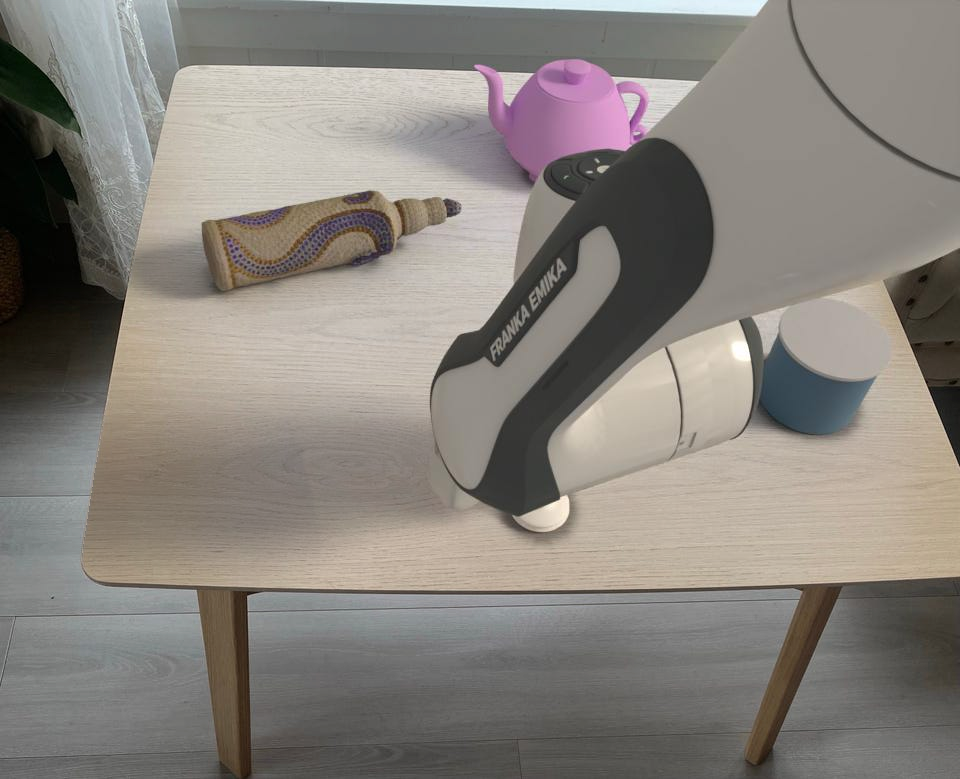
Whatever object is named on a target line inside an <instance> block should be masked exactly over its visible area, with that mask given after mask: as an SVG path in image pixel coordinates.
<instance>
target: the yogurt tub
mask: <svg viewBox="0 0 960 779" xmlns="http://www.w3.org/2000/svg"><path fill="white" fill-rule="evenodd" d="M891 341H892V340H891V339H890V336H889V334H888V333H887V331H886V330H885V328H884V327H883V325H882V324H881V323H880V322H879V321H877V319H875V317H874V316H871V314H869V313H868V312H866V311H865V310H863V309H861V308H859V307H857V306H856V305H853V304H851V303H848V302H845V301H842V300H838V299H834V298H828V297H827V298H826V297H821V298H817V299H814V300H810V301H806V302H802V303H798V304H795V305H791V306H788V307H786V309H785V311H784V312H783V313H782V315H781V317H780V319H779V323H778V333H777V335H776V337H775V340H774V342H773V344H772V346H771V348H770V351H769V352H768V355H767V358H766V360H765V362H764V363H763V379H762V388H761V393H760V398H759V402H760V404H761V405H762V407H763V408H764V409H765V411H766V412H767V413H768V414H769V415H770V416H771V417H772V418H773V419H775V421H777V422H778V423H780V424H782V425H784V426H785V427H787V428H789V429H791V430H793V431H795V432H799V433H803V434H809V435H814V436H815V435H816V436H817V435H818V436H820V435H821V436H822V435H829V434H834V433H837V432H839V431H841V430H843V429H844V428H846V427H848V425H850V423H851V421H852V420H853V418H854V417H855V415H856V413H857V411H859V409H860V406H861V405H862V403H863V401H864V399H865V398H866V396H867V394H868V393H869V391H870V389H871V388H872V386H873V384H874V383H875V381H876V379H877V377H878V376H879V375H880V374H882V373H883V372H884V371H885V370H886V369H887V367H888V366H889V364H890V362H891V360H892V356H893V346H892V342H891Z"/></svg>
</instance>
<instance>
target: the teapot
mask: <svg viewBox="0 0 960 779" xmlns="http://www.w3.org/2000/svg"><path fill="white" fill-rule="evenodd" d="M473 67H474V69H476V71H478V72H479V73H480V74H481V76H483V77H484V78H485V80H486V82H487V86H488V99H487V112H488V118H489V120H490V123H491V126H492V127H493V128H494V130H495V131H496V132H497V133H499V134H500V135H501V136H502V138H503V142H504V145H505V147H506V149H507V151H508V152H509V154H510V156H511V157H512V158H513V159H514V160H515V162H517V163H518V164H519V165H520V166H521V167H522V168H523V169H524V170H525V171H527V172H528V173H529V175H528V177H529V179H530V180H531V181H532V182H534V183H535V182H536V179H537V178H538V176H539V174H540V173H541V171H542V170H543V169H544V168H545V167H546V166H547V165H548V164H549V163H551V162H552V161H555V160H557V159H559V158H561V157H564V156H567V155H571V154H575V153H580V152H585V151H591V150H598V149H614V150H623V151H626V150H627V149H628V148H629V147H630V146H632V145H634V144H635V143H637V142H638V141H640V140H641V138H642V137H643V136H644V135H645V134H647V133H648V130H647V128H646V127H645V125H644V124H640V123H641V121H642V119H643V118H644V116H645V114H646V112H647V109H648V106H649V101H650V100H649V94H648V92H647V89H645V87H644V86H643V85H641V84H639V83H638V82H635V81H630V80H627V81H626V80H625V81H620V82H618V83H616V82H615V80H614V79H613V78H612V76H611V75H610V74H609V73H608V72H607V71H606V70H605V69H604V68H601V67H600V66H598V65H596V64H594V63H591V62H587V61H586V60H583V59H579V58H572V59H561V60H553V61H551V62H549V63H546V64H544V65H542V66H541V67H539V69H537V70H536V71H535V72H534V73H533V74H532V75H531V76H530V77H529V78H528V80H526V81H525V83H524V84H523V85H522V86H521V87H520V89H519V90H518V92H517V93H516V95H515V96H514V98H513V99H512V101H511V103H510V105H508V104H507V103H506V102H505V101H504V84H503V79H502V77H501V75H500V73H499V72H498V71H497V70H495V69H493V67H492V68H491V67H490V66H486V65H483V64H474V65H473ZM622 94H635V95H637V96H639V102H638V105H637V107H636V109H635V111H634V113H633V115H632V116H631V118H630V117H629V113H628V109H627V106H626V104H625V101H624V98H623V96H622ZM635 133H638V134H635Z"/></svg>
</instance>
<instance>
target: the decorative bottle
mask: <svg viewBox="0 0 960 779" xmlns="http://www.w3.org/2000/svg"><path fill="white" fill-rule="evenodd" d="M462 208H463V207H462V204H461V203H460V202H459V201H458V200H454V199H451V198H447V197H446V198H444V199H443V198H442V197H440V196H433V197H431V198H430V197H428V198H424V199H418V198H410V197H409V198H402V199H397V200H395V201H392V202H391V201H390V200H389V199H387V198H386V196H384V195H383V194H382V193H381V191H379V190H372V189H369V190H366V191H360V192H354V193H348V194H344V195H339V196H335V197H334V196H333V197H330V198H324V199H318V200H314V201H308V202H303V203H299V204H293V205H285V206H282V207H279V208H274V209H268V210H267V209H266V210H261V211H254V212H250V213H246V214H241V215H238V216H237V215H236V216H231V217H227V218H226V217H225V218H220V219H208V220H205V221H202V222H201V224H200V226H201V239H202V240H201V241H202V245H203V251H204V254H205V257H206V261H207V264H208V269H209V271H210V275H211V276H212V279H213V281H214V283H215V286H216V288H217V289H218V290H219V291H221V292H225V291H230V290H232V289H234V288H238V287H243V286H244V287H246V286H250V285H253V284H254V285H255V284H259V283H260V284H261V283H264V282H265V283H266V282H269V281H273V280H276V279H284V278H287V277H290V276H296V275H300V274H305V273H309V272H315V271H319V270H323V269H327V268H332V267H336V266H341V265H346V264H351V265H352V266H357V267H361V266H363V265H366V264H368V263H370V262H372V261H373V260H375V259H379V258H380V257H382V256H383V257H384V256H388V255H390V254H391V253H393V252H394V251H395V249H396V247H397V243H398V240H399V239H400V238H401V237H403V236H404V237H407V236H411V235H415V234H417V233H419V232H422V231H423V230H424V229H426V228H427V227H430V226H432V227H434V226H437V225H441V224H443V223H444V224H445V222H446V220H447V218H453V217H456V216H458V215H460V213H461V211H462Z"/></svg>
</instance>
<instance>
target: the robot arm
mask: <svg viewBox="0 0 960 779" xmlns="http://www.w3.org/2000/svg"><path fill="white" fill-rule="evenodd" d="M521 221H522V222H521V226H520V230H519V231H520V232H519V236H518V241H517V248H516V253H515V260H514V268H513V285H512V286H511V287H510V289H509V290H508V292H507V293H506V295H505V296H504V298H502V301H501V302H500V303H499V305H498V306H497V307H496V309H495V310H494V312H493V313H492V314H491V315H490V317H489V318H488V319H487V321H486V322H485V323H484V324H483V326H482V327H481V328H480V329H478V330H472V331H469V332H464V333H460V334H459V335H457V337H456V338H455V339H454V340H453V341H452V343H451V345H450V346H449V348H448V349H447V351H446V352H445V354H444V355H443V357H442V359H441V360H440V363H439V365H438V367H437V369H436V371H435V373H434V375H433V378H432V381H431V385H430V391H429V414H430V422H431V428H432V433H433V436H434V437H433V441H432V445H431V448H430V453H429V458H428V464H427V472H426V474H427V479H428V480H427V481H428V482H429V484H430V486H431V487H432V489H433V490H434V492H435V494H436V495H437V496H438V498H439V499H440V500H441V502H442V503H443V504H444V505H445V506H446V507H447V508H449V509H451V510H453V511H456V512H462V511H464V510H468V508H471V507H472V506H474V505H477V504H478V503H482V504H484V505H487V506H489V507H490V508H494V509H495V510H498V511H500V512H503V513H505V514H508V515H511V516H512V515H514V516H517V517H520V516H522V515H524V514H527V513H529V512H532V511H534V510H536V509H539V508H541V507H544V506H546V505H548V504H551V503H553V502H556V501H558V500H560V497H563V496H566V495H567V496H569V495H572V494H575V493H579V492H581V491H584V490H587V489H590V488H593V487H596V486H599V485H602V484H605V483H609V482H611V481H615V480H617V479H621V478H622V477H627V476H630V475H632V474H635V473H639V472H642V471H644V470H648V469H651V468H654V467H656V466H660V465H662V464H663V465H664V463H668V462H671V461H674V460H677V459H680V458H683V457H686V456H688V455H691V454H695V453H697V452H701V451H705V450H707V449H709V448H712V447H715V446H718V445H721V444H722V443H725V442H728V441H732V440H735V439H737V438H738V437H740V436H741V435H742V434H743V433H744V432H745V430H746V429H747V427H748V426H749V424H750V422H751V421H752V419H753V417H754V415H755V412H756V410H757V407H758V404H759V402H760V399H759V398H760V393H761V388H762V379H763V367H764V347H763V346H764V345H763V339H762V336H761V332H760V330H759V328H758V325H757V324H756V321H755V320H754V319H753V318H754V317H755V316H758V315H761V314H765V313H768V312H772V311H776V310H779V309H783V308H788V307H790V306H791V305H795V304H798V303H802V302H806V301H810V300H814V299H817V298H826V297H828V296H832V295H836V294H839V293H843V292H847V291H850V290H854V289H858V288H861V287H864V286H869V285H873V284H875V283H879V282H881V281H884V280H887V279H891V278H894V277H896V276H900V275H902V274H906V273H908V272H911V271H913V270H916V269H918V268H920V267H922V266H925V265H927V264H929V263H932V262H933V261H936V260H938V259H940V258H942V257H944V256H946V255H949V254H950V253H952V252H954V251H957V250H959V249H960V0H767V1H766V2H765V3H764V4H763V6H762V7H761V8H760V9H759V11H758V12H757V13H756V15H754V18H753V19H752V20H751V21H750V22H749V23H748V24H747V26H746V27H745V28H744V30H743V31H742V32H741V33H740V35H739V36H738V37H737V38H736V39H735V40H734V41H733V43H732V44H731V45H730V46H729V48H728V49H727V50H726V51H725V52H724V53H723V54H722V56H720V58H719V59H718V60H717V61H716V62H715V64H714V65H713V66H712V67H711V68H710V69H709V71H708V72H706V74H704V76H703V77H702V78H701V79H700V80H699V81H698V83H696V85H694V86H693V88H691V90H690V91H689V92H688V93H687V94H686V95H685V96H684V97H683V98H682V99H681V100H680V101H679V102H678V103H677V104H676V105H675V106H673V108H671V110H669V111H668V112H667V113H666V115H664V116H663V117H662V118H661V119H660V120H659V121H657V123H656V124H654V126H653V127H651V128H650V130H648V131H647V134H645V135H644V136H643V137H642V138H641V140H640V141H638V142H637V143H635V144H634V145H630V146H629V148H628V149H627V150H626V151H623V150H614V149H598V150H591V151H585V152H580V153H575V154H571V155H567V156H564V157H561V158H559V159H557V160H555V161H552V162H551V163H549V164H548V165H547V166H546V167H545V168H544V169H543V170H542V171H541V173H540V174H539V176H538V178H537V179H536V182H534V184H533V186H532V189H531V191H530V193H529V197H528V199H527V203H526V206H525V209H524V213H523V216H522V220H521Z"/></svg>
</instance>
